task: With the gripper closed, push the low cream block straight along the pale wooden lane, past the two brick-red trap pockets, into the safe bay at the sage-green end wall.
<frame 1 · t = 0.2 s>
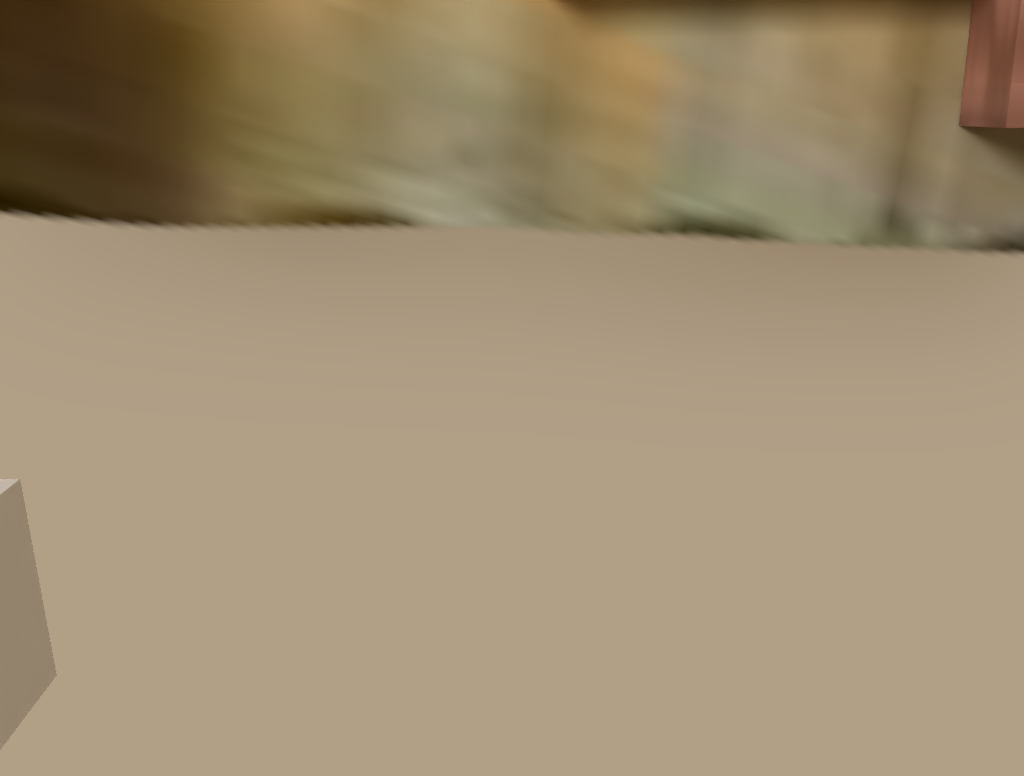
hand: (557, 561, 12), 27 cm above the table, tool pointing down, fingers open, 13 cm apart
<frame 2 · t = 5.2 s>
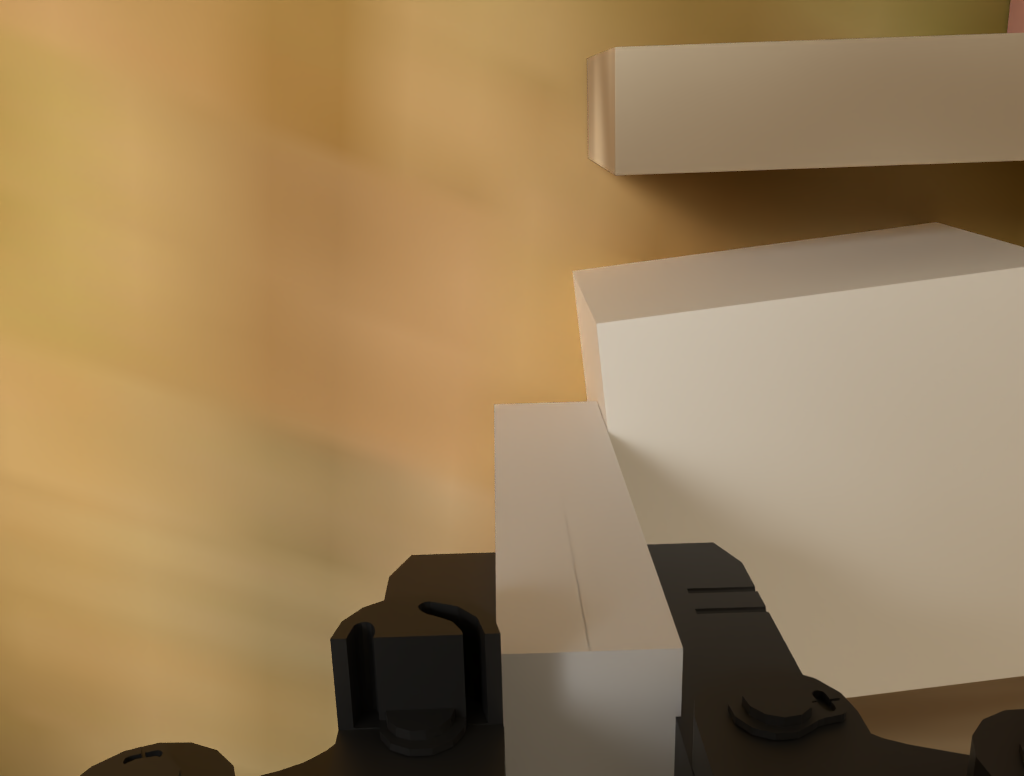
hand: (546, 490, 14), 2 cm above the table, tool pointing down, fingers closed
cream block: (760, 414, 17), on the table, touching gripper
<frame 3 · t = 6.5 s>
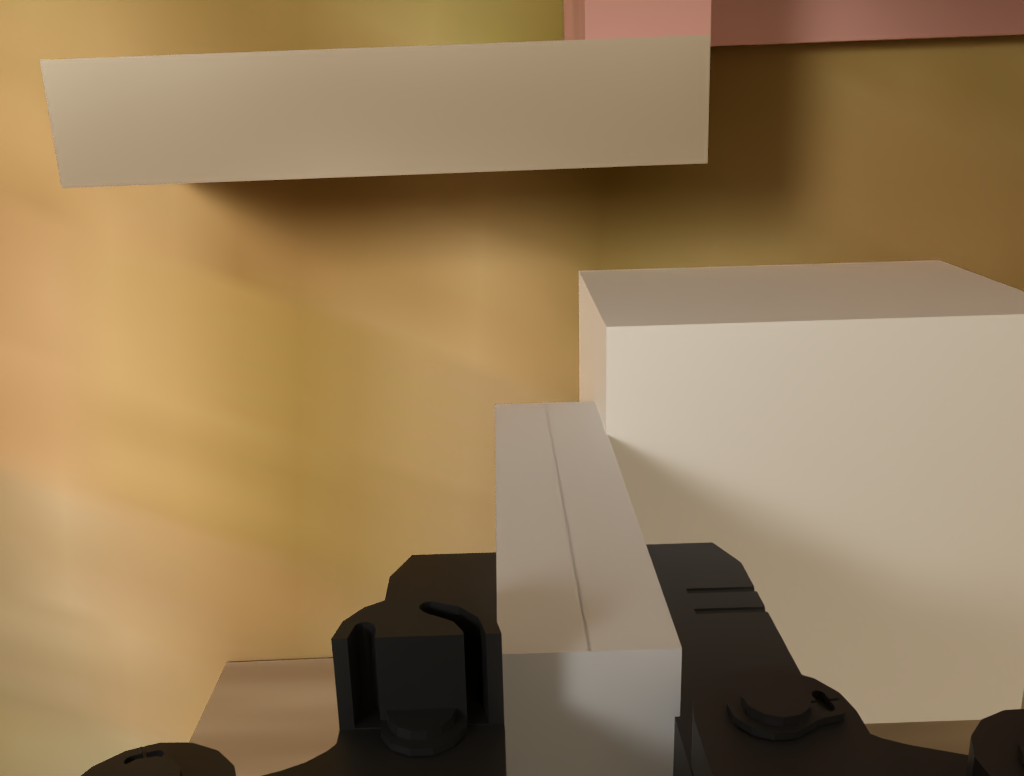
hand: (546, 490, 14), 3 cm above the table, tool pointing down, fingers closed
cream block: (751, 435, 17), on the table, touching gripper
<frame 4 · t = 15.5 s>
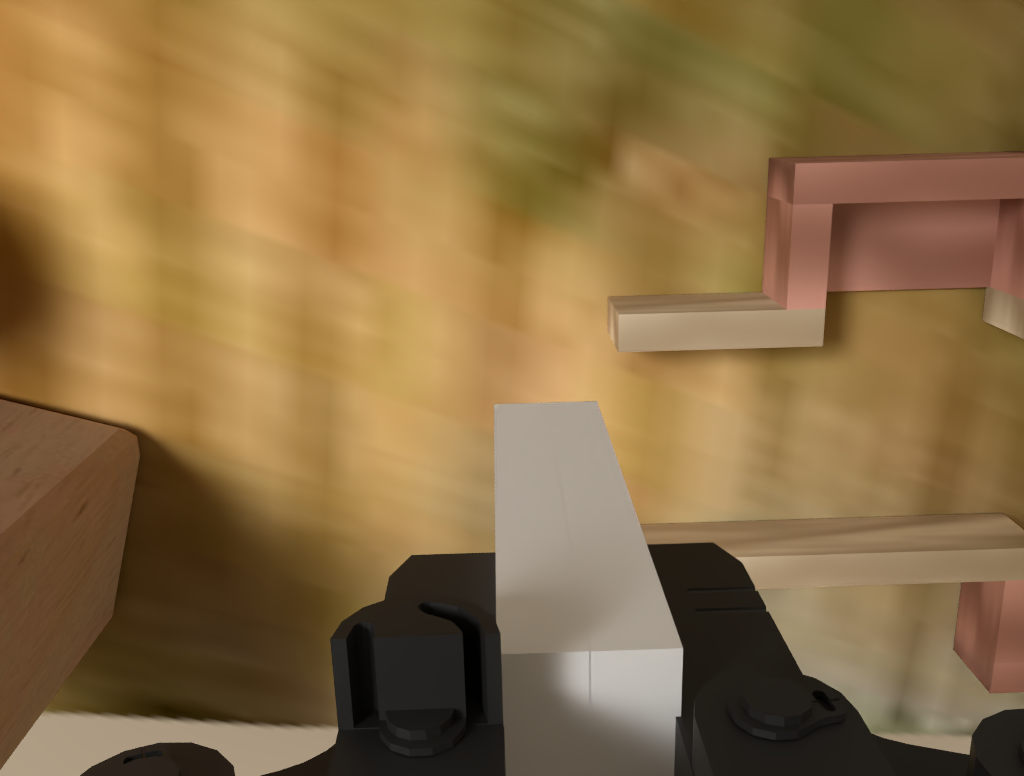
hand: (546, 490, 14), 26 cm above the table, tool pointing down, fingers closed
wooden block: (22, 500, 43), on the table
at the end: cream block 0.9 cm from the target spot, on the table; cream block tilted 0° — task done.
